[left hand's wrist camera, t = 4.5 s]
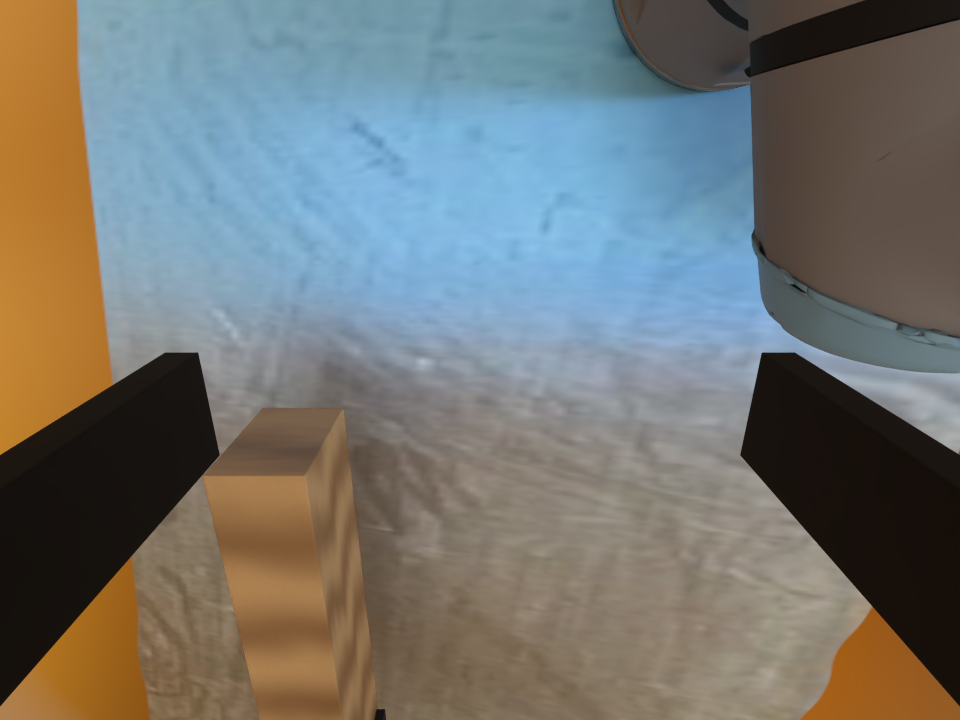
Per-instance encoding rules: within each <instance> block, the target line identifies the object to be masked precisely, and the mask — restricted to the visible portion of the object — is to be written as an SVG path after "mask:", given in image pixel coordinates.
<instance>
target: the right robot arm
mask: <svg viewBox="0 0 960 720" xmlns="http://www.w3.org/2000/svg"><path fill="white" fill-rule="evenodd" d="M374 720H386V715H385V709H376V714H375V719H374Z"/></svg>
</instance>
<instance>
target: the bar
mask: <svg viewBox="0 0 960 720" xmlns="http://www.w3.org/2000/svg"><path fill="white" fill-rule="evenodd" d="M203 480H204V484H205V488H206V492H207V497H208V501H209V505H210V509H211V514H212V518H213V522H214V526H215V531H216V535H217V539H218V543H219V548H220V552H221V556H222V560H223V565H224V569H225V573H226V577H227V582H228V586H229V590H230V594H231V599H232V603H233V607H234V611H235V616H236V620H237V624H238V628H239V633H240V637H241V641H242V645H243V650H244V654H245V658H246V662H247V667H248V671H249V675H250V679H251V684H252V688H253V692H254V696H255V701H256V705H257V709H258V713H259V718H260V720H374V719H375V714H376V709H378V706H377V697H376V688H375V680H374V671H373V662H372V653H371V644H370V636H369V627H368V618H367V609H366V601H365V592H364V583H363V574H362V565H361V557H360V548H359V539H358V530H357V522H356V513H355V504H354V495H353V486H352V478H351V469H350V460H349V451H348V443H347V434H346V425H345V416H344V408H263V409H262V410H261V411H260V412H259V413H258V414H257V416H256V417H255V418H254V419H253V420H252V421H251V422H250V423H249V425H248V426H247V427H246V428H245V429H244V430H243V431H242V432H241V434H240V435H239V436H238V437H237V438H236V439H235V440H234V442H233V443H232V444H231V445H230V446H229V447H228V448H227V449H226V451H225V452H224V453H223V454H222V455H221V456H220V457H219V458H218V460H217V461H216V462H215V463H214V464H213V465H212V466H211V467H210V469H209V470H208V471H207V472H206V473H205V474H204V475H203Z"/></svg>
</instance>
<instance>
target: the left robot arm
mask: <svg viewBox="0 0 960 720" xmlns="http://www.w3.org/2000/svg"><path fill="white" fill-rule="evenodd" d="M613 3H614V8H615V12H616V16H617V19H618V22H619V25H620V27H621V30H622V32H623V35H624V37H625V38H626V40H627V42H628V44H629V46H630V47H631V49H632V50H633V52H634V53H635V55H636V56H637V57H638V58H639V59H640V61H641V62H642V63H643V64H644V65H645V66H646V67H647V68H648V69H649V70H651V71H652V72H653V73H655V74H656V75H657V76H659V77H660V78H662V79H664V80H665V81H667V82H669V83H671V84H674V85H676V86H679V87H682V88H685V89H690V90H695V91H705V92H710V91H723V90H729V89H733V88H737V87H741V86H745V85H748V84H750V88H751V116H752V152H753V189H754V225H755V228H754V231H753V233H752V247H753V250H754V253H755V255H756V256H757V258H758V268H759V279H760V290H761V297H762V301H763V303H764V306H765V308H766V310H767V312H768V313H769V315H770V316H771V317H772V318H773V319H774V320H776V321H777V322H778V323H779V324H781V326H782V328H783V329H784V330H785V331H786V332H788V333H789V334H791V335H792V336H794V337H796V338H797V339H799V340H801V341H803V342H804V343H806V344H808V345H811V346H813V347H815V348H817V349H820V350H822V351H825V352H828V353H831V354H833V355H836V356H840V357H843V358H847V359H850V360H854V361H858V362H862V363H867V364H871V365H875V366H881V367H887V368H893V369H899V370H907V371H916V372H929V373H960V0H613ZM219 455H220V454H219V450H218V445H217V440H216V435H215V431H214V426H213V421H212V416H211V412H210V407H209V402H208V397H207V393H206V388H205V383H204V378H203V374H202V369H201V364H200V359H199V355H198V353H164V354H162V355H161V356H159V357H157V358H156V359H154V360H153V361H151V362H149V363H148V364H146V365H145V366H143V367H141V368H140V369H138V370H137V371H135V372H133V373H132V374H130V375H128V376H127V377H125V378H124V379H122V380H120V381H119V382H117V383H116V384H114V385H112V386H111V387H109V388H108V389H106V390H104V391H103V392H101V393H100V394H98V395H96V396H95V397H93V398H92V399H90V400H88V401H87V402H85V403H83V404H82V405H80V406H79V407H77V408H75V409H74V410H72V411H70V412H69V413H67V414H66V415H64V416H62V417H61V418H59V419H58V420H56V421H54V422H53V423H51V424H50V425H48V426H46V427H45V428H43V429H42V430H40V431H38V432H37V433H35V434H33V435H32V436H30V437H29V438H27V439H25V440H24V441H22V442H21V443H19V444H17V445H16V446H14V447H12V448H11V449H9V450H8V451H6V452H4V453H3V454H1V455H0V706H1V705H2V704H3V702H4V701H5V700H6V699H7V698H8V697H9V696H10V694H11V693H12V692H13V691H14V690H15V689H16V688H17V686H18V685H19V684H20V683H21V682H22V681H23V680H24V678H25V677H26V676H27V675H28V674H29V673H30V672H31V670H32V669H33V668H34V667H35V666H36V665H37V664H38V662H39V661H40V660H41V659H42V658H43V657H44V655H45V654H46V653H47V652H48V651H49V650H50V649H51V648H52V646H53V645H54V644H55V643H56V642H57V641H58V639H59V638H60V637H61V636H62V635H63V634H64V633H65V632H66V630H67V629H68V628H69V627H70V626H71V625H72V623H73V622H74V621H75V620H76V619H77V618H78V617H79V615H80V614H81V613H82V612H83V611H84V610H85V609H86V608H87V606H88V605H89V604H90V603H91V602H92V601H93V599H94V598H95V597H96V596H97V595H98V594H99V593H100V591H101V590H102V589H103V588H104V587H105V586H106V585H107V583H108V582H109V581H110V580H111V579H112V578H113V577H114V575H115V574H116V573H117V572H118V571H119V570H120V569H121V567H122V566H123V565H124V564H125V563H126V562H127V561H128V559H129V558H130V557H131V556H132V555H133V554H134V553H135V551H136V550H137V549H138V548H139V547H140V546H141V545H142V543H143V542H144V541H145V540H146V539H147V538H148V537H149V535H150V534H151V533H152V532H153V531H154V530H155V529H156V527H157V526H158V525H159V524H160V523H161V522H162V521H163V519H164V518H165V517H166V516H167V515H168V514H169V513H170V511H171V510H172V509H173V508H174V507H175V506H176V505H177V503H178V502H179V501H180V500H181V499H182V498H183V497H184V495H185V494H186V493H187V492H188V491H189V490H190V489H191V487H192V486H193V485H194V484H195V483H196V482H197V481H198V479H199V478H200V477H201V476H202V475H203V474H204V473H205V471H206V470H207V469H208V468H209V467H210V466H211V464H212V463H213V462H214V461H215V460H216V459H217V458H218V456H219ZM740 455H741V456H742V458H743V459H744V460H745V461H746V462H747V463H748V464H749V466H750V467H751V468H752V469H753V470H754V471H755V473H756V474H757V475H758V476H759V477H760V478H761V479H762V481H763V482H764V483H765V484H766V485H767V486H768V487H769V489H770V490H771V491H772V492H773V493H774V494H775V495H776V497H777V498H778V499H779V500H780V501H781V502H782V503H783V505H784V506H785V507H786V508H787V509H788V510H789V511H790V513H791V514H792V515H793V516H794V517H795V518H796V519H797V521H798V522H799V523H800V524H801V525H802V526H803V527H804V529H805V530H806V531H807V532H808V533H809V534H810V535H811V537H812V538H813V539H814V540H815V541H816V542H817V543H818V545H819V546H820V547H821V548H822V549H823V550H824V551H825V553H826V554H827V555H828V556H829V557H830V558H831V559H832V561H833V562H834V563H835V564H836V565H837V566H838V567H839V569H840V570H841V571H842V572H843V573H844V574H845V575H846V577H847V578H848V579H849V580H850V581H851V582H852V583H853V585H854V586H855V587H856V588H857V589H858V590H859V591H860V593H861V594H862V595H863V596H864V597H865V598H866V599H867V601H868V602H869V603H870V604H871V605H872V606H873V608H874V609H875V610H876V611H877V612H878V613H879V614H880V616H881V617H882V618H883V619H884V620H885V621H886V622H887V624H888V625H889V626H890V627H891V628H892V629H893V630H894V632H895V633H896V634H897V635H898V636H899V637H900V638H901V640H902V641H903V642H904V643H905V644H906V645H907V646H908V648H909V649H910V650H911V651H912V652H913V653H914V654H915V656H916V657H917V658H918V659H919V660H920V661H921V662H922V663H923V665H924V666H925V667H926V668H927V669H928V670H929V672H930V673H931V674H932V675H933V676H934V677H935V678H936V680H937V681H938V682H939V683H940V684H941V685H942V686H943V688H944V689H945V690H946V691H947V692H948V693H949V694H950V696H951V697H952V698H953V699H954V700H955V701H956V702H957V704H958V705H959V706H960V455H959V454H957V453H956V452H954V451H952V450H951V449H949V448H948V447H946V446H944V445H943V444H941V443H939V442H938V441H936V440H935V439H933V438H931V437H930V436H928V435H927V434H925V433H923V432H922V431H920V430H919V429H917V428H915V427H914V426H912V425H910V424H909V423H907V422H906V421H904V420H902V419H901V418H899V417H898V416H896V415H894V414H893V413H891V412H890V411H888V410H886V409H885V408H883V407H881V406H880V405H878V404H877V403H875V402H873V401H872V400H870V399H869V398H867V397H865V396H864V395H862V394H861V393H859V392H857V391H856V390H854V389H852V388H851V387H849V386H848V385H846V384H844V383H843V382H841V381H840V380H838V379H836V378H835V377H833V376H832V375H830V374H828V373H827V372H825V371H823V370H822V369H820V368H819V367H817V366H815V365H814V364H812V363H811V362H809V361H807V360H806V359H804V358H803V357H801V356H799V355H798V354H796V353H762V355H761V359H760V364H759V369H758V374H757V378H756V383H755V388H754V393H753V397H752V402H751V407H750V412H749V416H748V421H747V426H746V431H745V435H744V440H743V445H742V450H741V454H740Z"/></svg>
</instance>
